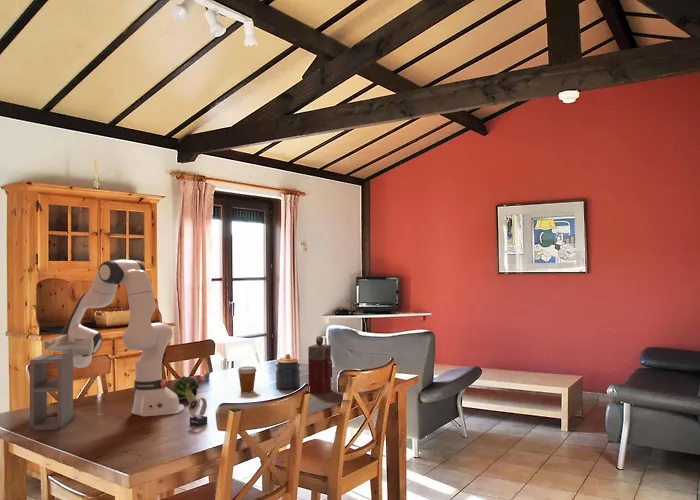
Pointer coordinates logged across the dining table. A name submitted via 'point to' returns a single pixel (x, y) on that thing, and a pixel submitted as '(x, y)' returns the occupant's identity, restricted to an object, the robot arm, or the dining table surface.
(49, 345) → the slat
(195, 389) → the vegetable
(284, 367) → the canister
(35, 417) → the shelf stand
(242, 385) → the disposable coffee cup
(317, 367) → the red square decanter
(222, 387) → the dining table surface
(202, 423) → the watch
